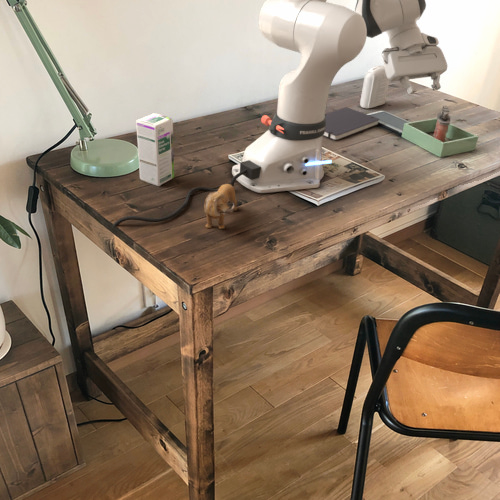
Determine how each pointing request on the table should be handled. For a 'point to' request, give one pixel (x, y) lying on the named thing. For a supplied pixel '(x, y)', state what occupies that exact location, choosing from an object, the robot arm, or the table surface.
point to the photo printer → (374, 88)
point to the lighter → (442, 124)
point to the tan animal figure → (219, 204)
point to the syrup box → (155, 149)
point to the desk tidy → (460, 137)
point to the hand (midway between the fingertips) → (424, 91)
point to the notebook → (347, 123)
